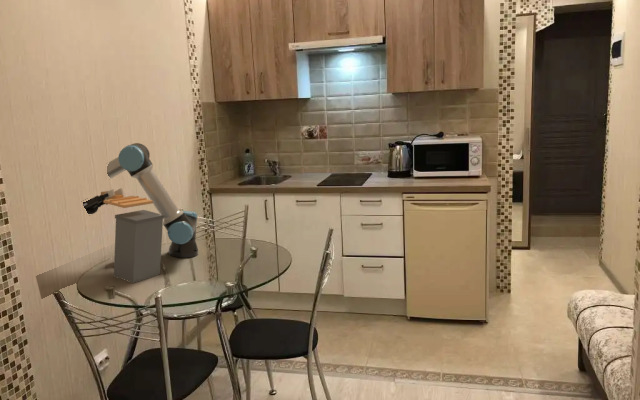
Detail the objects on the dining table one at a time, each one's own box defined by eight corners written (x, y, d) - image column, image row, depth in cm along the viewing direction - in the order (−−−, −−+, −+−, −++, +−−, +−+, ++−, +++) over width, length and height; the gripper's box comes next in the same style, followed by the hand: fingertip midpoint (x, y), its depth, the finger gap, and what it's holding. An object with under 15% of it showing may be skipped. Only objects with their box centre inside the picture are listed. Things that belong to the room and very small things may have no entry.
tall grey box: (112, 276, 228) (115, 214, 223) (140, 267, 243) (143, 209, 237) (133, 283, 223) (135, 220, 217) (160, 274, 237) (164, 215, 232)
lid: (89, 198, 228) (89, 193, 228) (118, 194, 243) (118, 189, 242) (124, 208, 219) (124, 202, 218) (152, 203, 234) (153, 198, 233)
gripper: (103, 213, 249) (135, 197, 238) (73, 218, 234) (105, 201, 223) (98, 198, 250) (129, 182, 239) (68, 202, 235) (99, 185, 224)
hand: (117, 191), depth 231 cm, fingers closed on lid, 4 cm apart
